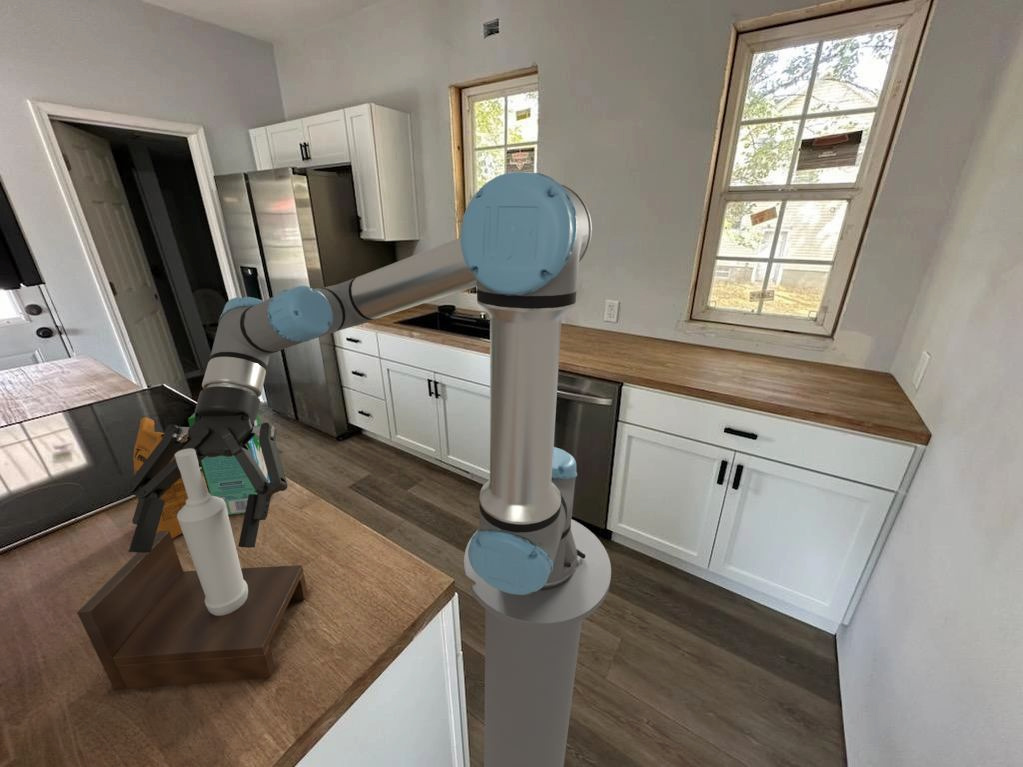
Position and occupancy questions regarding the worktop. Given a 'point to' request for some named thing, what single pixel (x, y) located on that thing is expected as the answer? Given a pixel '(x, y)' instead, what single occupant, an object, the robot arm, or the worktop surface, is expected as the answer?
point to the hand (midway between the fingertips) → (193, 549)
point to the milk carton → (232, 475)
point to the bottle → (210, 540)
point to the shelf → (184, 622)
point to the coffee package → (176, 493)
